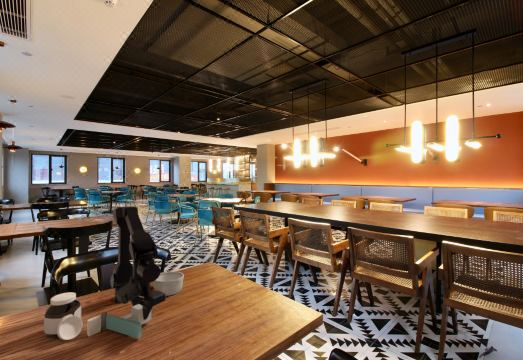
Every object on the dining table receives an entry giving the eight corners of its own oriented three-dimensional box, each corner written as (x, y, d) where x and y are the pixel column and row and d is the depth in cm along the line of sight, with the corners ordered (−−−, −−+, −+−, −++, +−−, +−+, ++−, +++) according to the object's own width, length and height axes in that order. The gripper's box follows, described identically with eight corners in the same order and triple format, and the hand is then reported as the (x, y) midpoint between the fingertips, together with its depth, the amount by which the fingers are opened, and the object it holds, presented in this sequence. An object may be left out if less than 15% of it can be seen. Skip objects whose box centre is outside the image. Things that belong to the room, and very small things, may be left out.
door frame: (86, 334, 86) (86, 319, 86) (154, 303, 108) (154, 290, 108) (89, 337, 84) (90, 321, 84) (158, 304, 107) (158, 291, 107)
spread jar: (63, 322, 93) (64, 290, 93) (94, 323, 93) (95, 290, 93) (33, 343, 81) (33, 306, 81) (68, 344, 81) (69, 307, 81)
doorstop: (131, 322, 91) (131, 307, 91) (144, 316, 95) (144, 301, 95) (138, 326, 89) (138, 310, 88) (151, 319, 93) (151, 304, 93)
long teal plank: (106, 328, 88) (106, 315, 88) (109, 326, 89) (109, 314, 89) (138, 338, 83) (138, 324, 83) (141, 336, 84) (141, 323, 84)
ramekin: (172, 283, 129) (172, 269, 129) (189, 289, 121) (189, 274, 121) (147, 292, 118) (147, 277, 118) (164, 300, 111) (164, 284, 111)
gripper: (103, 275, 90) (103, 320, 90) (136, 287, 80) (136, 338, 80) (134, 266, 99) (133, 307, 99) (166, 275, 89) (166, 321, 90)
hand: (141, 317), depth 92 cm, fingers closed on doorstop, 4 cm apart
